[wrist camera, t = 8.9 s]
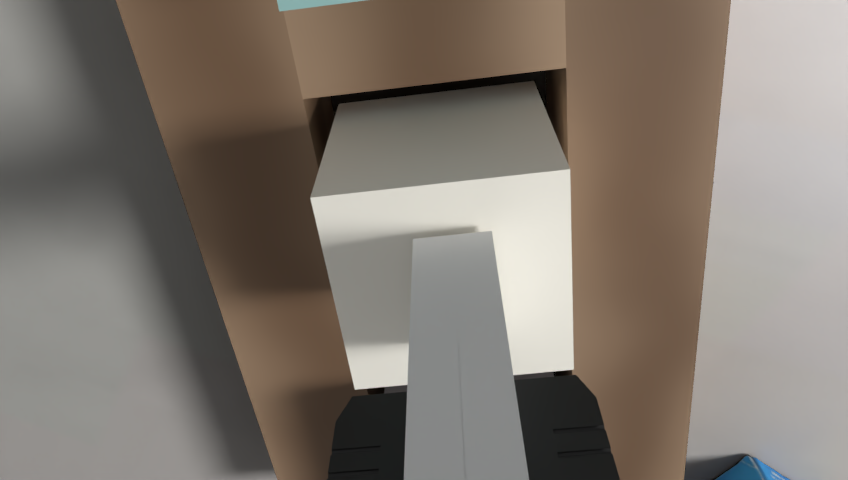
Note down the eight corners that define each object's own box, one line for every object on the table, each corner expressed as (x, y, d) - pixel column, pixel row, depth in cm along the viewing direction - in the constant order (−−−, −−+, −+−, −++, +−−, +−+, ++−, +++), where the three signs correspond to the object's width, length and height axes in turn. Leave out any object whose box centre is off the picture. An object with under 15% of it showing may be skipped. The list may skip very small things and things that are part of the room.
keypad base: (314, 468, 28) (300, 548, 24) (54, -411, 14) (-44, -472, 11) (651, 440, 27) (679, 519, 24) (709, -524, 13) (791, -621, 10)
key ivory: (370, 265, 20) (355, 389, 16) (338, 104, 17) (310, 198, 13) (541, 248, 19) (573, 369, 15) (533, 80, 17) (570, 169, 13)
